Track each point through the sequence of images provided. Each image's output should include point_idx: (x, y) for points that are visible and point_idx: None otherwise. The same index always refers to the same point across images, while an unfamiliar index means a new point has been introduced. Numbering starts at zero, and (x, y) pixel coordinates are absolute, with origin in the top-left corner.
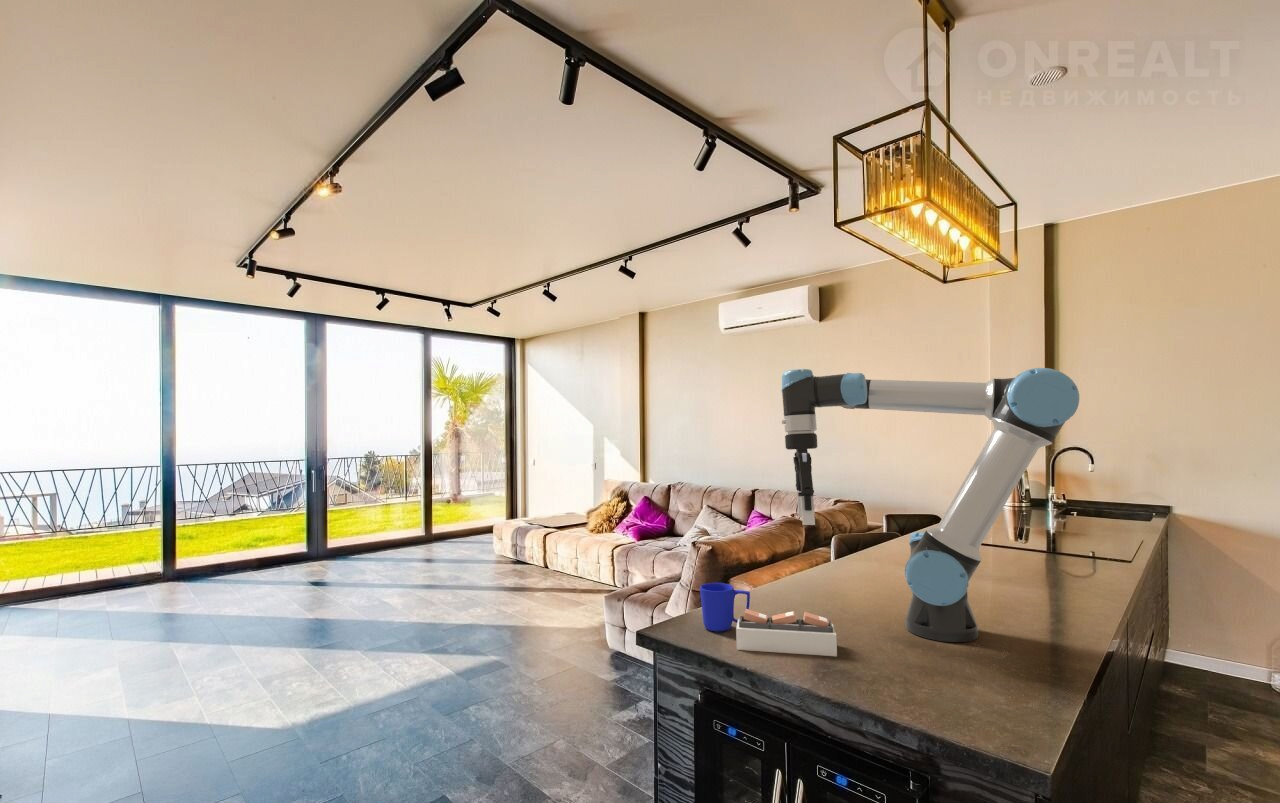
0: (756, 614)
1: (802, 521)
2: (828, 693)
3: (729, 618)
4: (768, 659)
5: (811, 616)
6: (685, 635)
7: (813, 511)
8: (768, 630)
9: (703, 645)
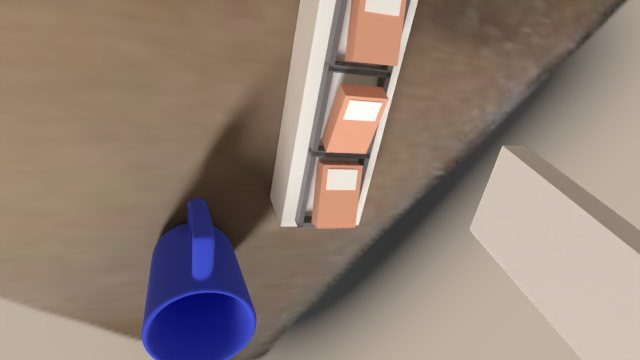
0: (342, 196)
1: (488, 245)
2: (569, 33)
3: (220, 241)
4: (400, 133)
5: (387, 43)
6: (252, 300)
7: (614, 219)
8: (375, 153)
9: (314, 260)
